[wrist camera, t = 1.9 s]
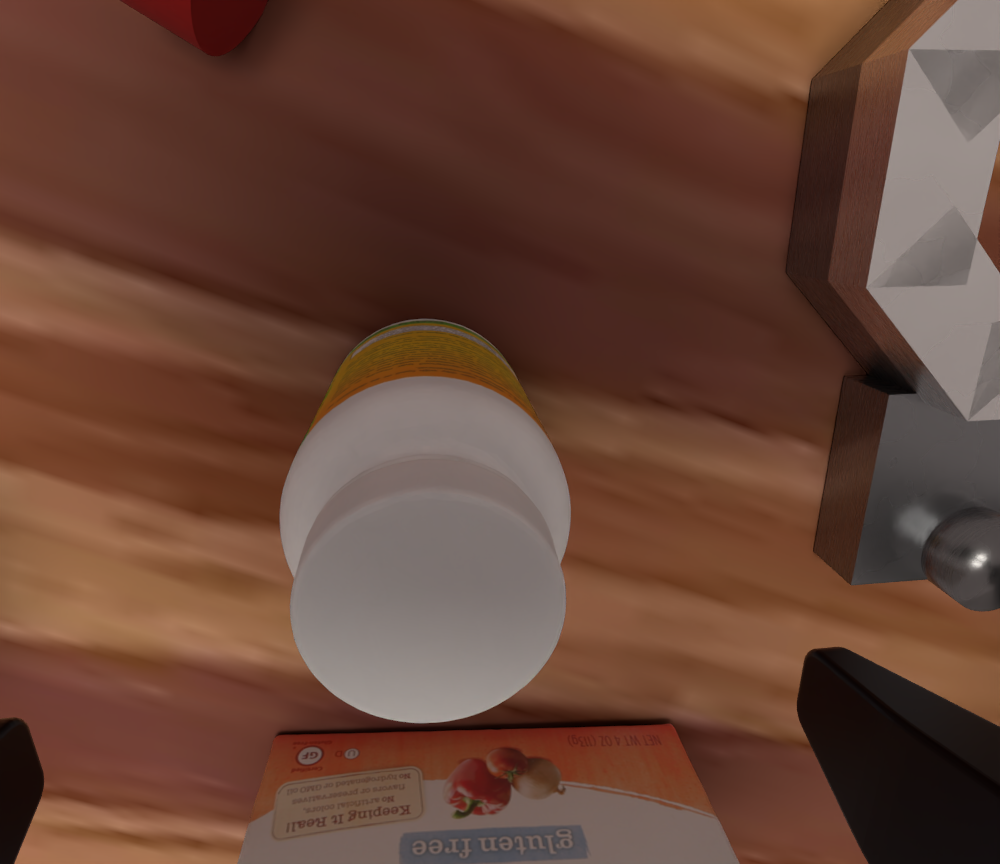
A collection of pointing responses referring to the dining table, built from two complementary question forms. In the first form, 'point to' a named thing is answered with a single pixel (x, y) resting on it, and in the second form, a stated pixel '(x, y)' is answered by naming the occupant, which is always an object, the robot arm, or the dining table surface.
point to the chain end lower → (888, 397)
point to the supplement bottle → (425, 529)
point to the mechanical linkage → (204, 20)
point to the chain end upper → (927, 205)
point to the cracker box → (484, 799)
